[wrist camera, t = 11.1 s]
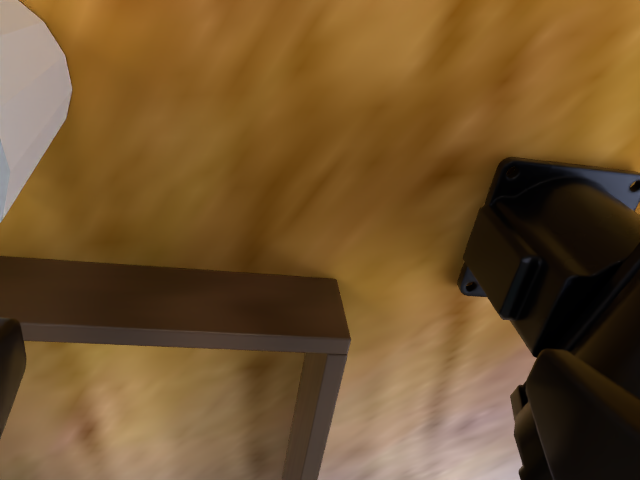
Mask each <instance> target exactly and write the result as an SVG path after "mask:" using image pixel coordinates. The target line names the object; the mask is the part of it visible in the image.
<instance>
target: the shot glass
mask: <svg viewBox="0 0 640 480" xmlns="http://www.w3.org/2000/svg"><path fill="white" fill-rule="evenodd" d="M71 93H72V85H71V80H70V76H69V71H68V67H67V62H66V58H65V54H64V53H63V51H62V50H61V48H60V47H59V45H58V43H57V42H56V40H55V39H54V37H53V35H52V34H51V32H50V31H49V29H48V28H47V26H46V24H45V23H44V22H43V21H42V20H41V19H40V18H39V17H37V16H36V15H35V14H34V13H33V12H31V11H30V10H29V9H28V8H27V7H25V6H24V5H23V4H22V3H21V2H19V1H18V0H0V223H1V221H2V220H3V218H4V217H5V215H6V214H7V212H8V211H9V209H10V207H11V206H12V204H13V203H14V201H15V199H16V198H17V196H18V195H19V193H20V191H21V190H22V188H23V187H24V185H25V183H26V182H27V180H28V179H29V177H30V175H31V174H32V172H33V171H34V169H35V167H36V166H37V164H38V163H39V161H40V160H41V158H42V156H43V155H44V153H45V152H46V150H47V148H48V147H49V145H50V144H51V142H52V140H53V139H54V137H55V136H56V134H57V132H58V131H59V129H60V128H61V126H62V124H63V123H64V121H65V120H66V117H67V112H68V108H69V103H70V98H71Z"/></svg>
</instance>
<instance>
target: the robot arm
mask: <svg viewBox="0 0 640 480" xmlns="http://www.w3.org/2000/svg"><path fill="white" fill-rule="evenodd" d="M511 167H515V170H514V171H513V173H511V174H509V175H507V171H508V170H509V169H510V168H511ZM635 181H636V182H635ZM633 182H635V184H634V185H633V186H632V187H630V186H631V184H632V183H633ZM639 201H640V173H638V172H635V171H627V170H619V169H610V168H602V167H593V166H585V165H576V164H568V163H559V162H551V161H542V160H533V159H525V158H516V157H508V158H506V159H504V160H503V161H502V162H500V164H499V165H498V167H497V170H496V173H495V176H494V178H493V181H492V184H491V187H490V190H489V193H488V196H487V198H486V201H485V204H484V205H483V206H482V207H481V208H480V210H479V212H478V215H477V218H476V221H475V224H474V227H473V229H472V232H471V235H470V238H469V241H468V244H467V247H466V250H465V253H464V255H463V260H464V264H463V267H462V270H461V273H460V276H459V279H458V283H457V285H458V287H459V289H460V291H461V292H462V293H463V294H464V295H467V296H480V297H488V299H489V300H490V302H491V303H492V305H493V307H494V308H495V310H496V311H497V313H498V314H499V316H500V317H501V318H502V319H503V320H510V321H511V323H512V324H513V326H514V327H515V329H516V330H517V332H518V333H519V335H520V336H521V338H522V339H523V341H524V343H525V344H526V346H527V347H528V349H529V350H530V352H531V353H532V355H533V356H534V357H537V359H536V361H535V363H534V365H533V367H532V370H531V372H530V374H529V376H528V378H527V381H526V382H525V383H524V384H523V385H519V386H518V387H517V388H516V389H515V391H514V392H513V393H512V394H511V396H510V398H511V404H512V409H513V415H514V420H515V429H514V437H515V440H516V443H517V447H518V450H519V453H520V457H521V460H522V465H523V466H522V467H521V468H520V469H519V476H520V479H521V480H640V215H639V214H637V213H636V212H635V209H636V207H637V205H638V203H639ZM470 282H473V283H472V284H471V285H470V286H466V285H467V284H468V283H470ZM25 368H26V353H25V347H24V341H23V335H22V329H21V325H20V323H19V321H18V320H17V319H15V318H3V317H0V439H1V436H2V433H3V430H4V428H5V425H6V422H7V419H8V417H9V414H10V411H11V408H12V405H13V403H14V400H15V397H16V394H17V391H18V389H19V386H20V383H21V380H22V378H23V375H24V372H25Z"/></svg>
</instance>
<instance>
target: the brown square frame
mask: <svg viewBox="0 0 640 480" xmlns="http://www.w3.org/2000/svg"><path fill="white" fill-rule="evenodd" d="M0 317H3V318H15V319H17V320H18V321H19V323H20V325H21V329H22V335H23V341H45V342H68V343H91V344H115V345H138V346H161V347H185V348H208V349H231V350H255V351H278V352H301V353H305V358H304V363H303V368H302V374H301V379H300V384H299V390H298V395H297V400H296V406H295V411H294V416H293V421H292V427H291V432H290V437H289V443H288V448H287V453H286V459H285V464H284V469H283V474H282V480H317V479H318V475H319V471H320V467H321V463H322V458H323V454H324V450H325V446H326V442H327V438H328V434H329V430H330V425H331V421H332V417H333V413H334V409H335V405H336V401H337V396H338V392H339V388H340V384H341V380H342V376H343V372H344V368H345V363H346V359H347V353H348V350H349V346H350V342H351V337H350V333H349V329H348V325H347V321H346V316H345V312H344V308H343V304H342V300H341V295H340V291H339V287H338V283H337V280H336V279H327V278H312V277H298V276H283V275H268V274H254V273H239V272H224V271H210V270H195V269H180V268H166V267H151V266H137V265H122V264H107V263H93V262H78V261H63V260H49V259H34V258H19V257H5V256H0Z"/></svg>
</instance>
